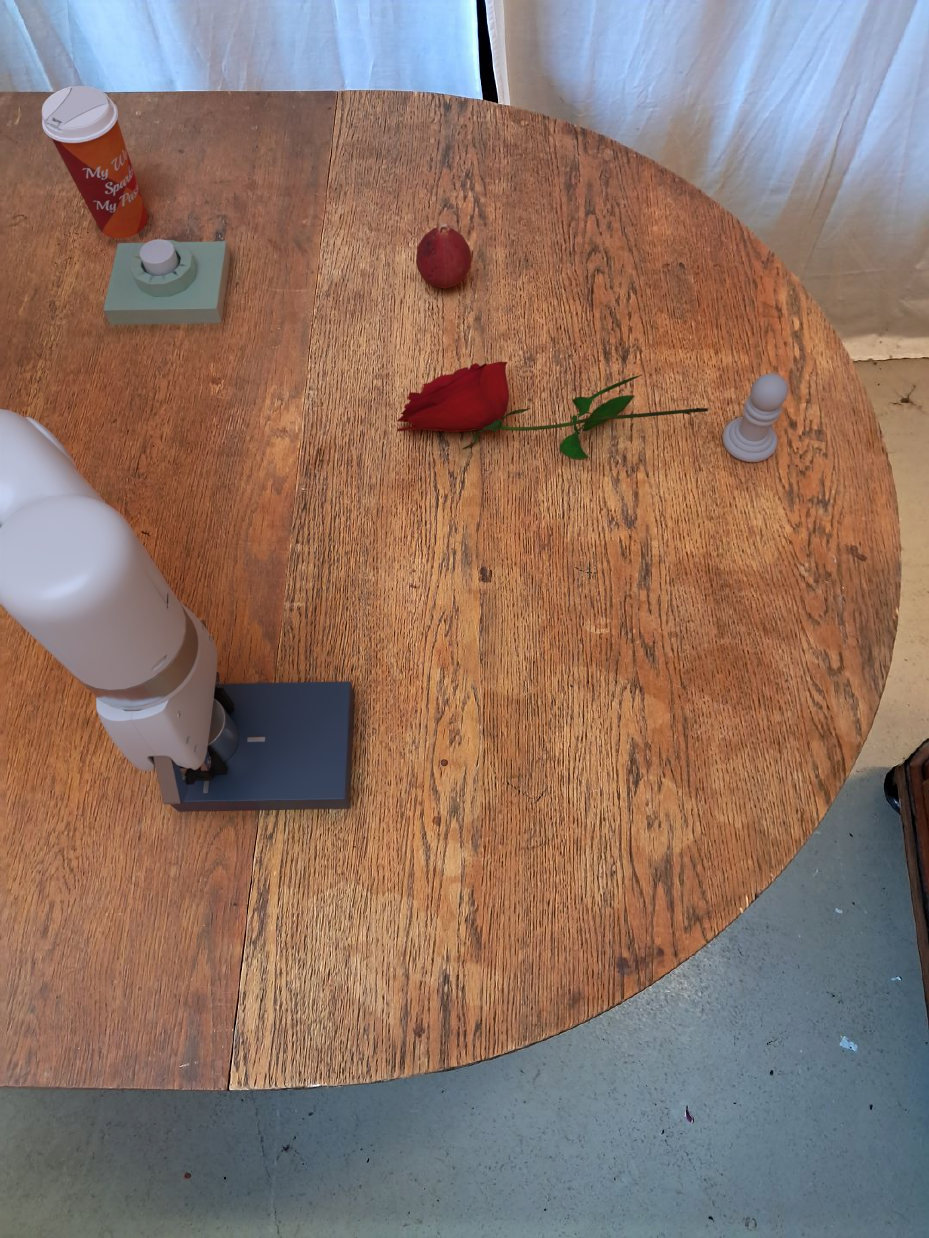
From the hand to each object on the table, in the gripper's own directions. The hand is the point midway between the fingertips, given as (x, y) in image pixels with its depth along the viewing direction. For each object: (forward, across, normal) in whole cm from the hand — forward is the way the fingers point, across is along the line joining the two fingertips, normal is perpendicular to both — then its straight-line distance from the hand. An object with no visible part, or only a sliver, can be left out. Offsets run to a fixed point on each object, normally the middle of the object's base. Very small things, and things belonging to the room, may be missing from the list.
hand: (211, 739), depth 72 cm
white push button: (0, -53, -11) cm, 54 cm away
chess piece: (+4, -31, +49) cm, 58 cm away
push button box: (+3, -53, -11) cm, 54 cm away
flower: (+4, -33, +29) cm, 44 cm away
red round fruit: (+3, -53, +19) cm, 56 cm away
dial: (0, 0, 0) cm, 0 cm away
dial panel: (+3, 0, +4) cm, 5 cm away
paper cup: (+3, -64, -18) cm, 67 cm away
